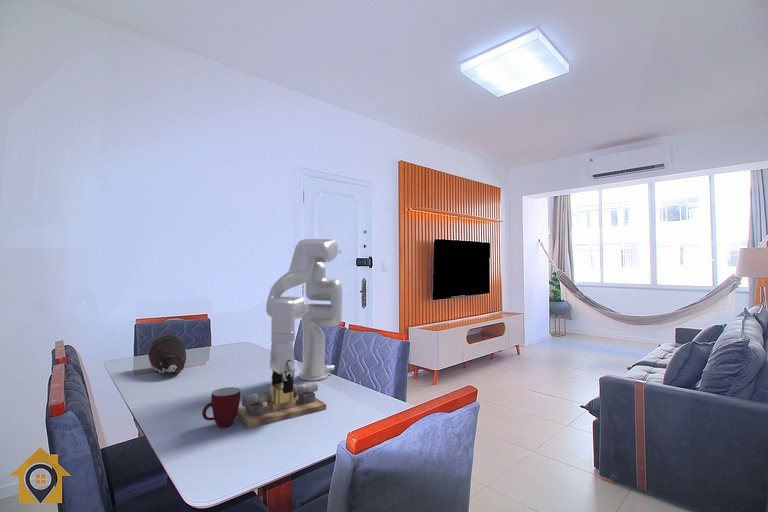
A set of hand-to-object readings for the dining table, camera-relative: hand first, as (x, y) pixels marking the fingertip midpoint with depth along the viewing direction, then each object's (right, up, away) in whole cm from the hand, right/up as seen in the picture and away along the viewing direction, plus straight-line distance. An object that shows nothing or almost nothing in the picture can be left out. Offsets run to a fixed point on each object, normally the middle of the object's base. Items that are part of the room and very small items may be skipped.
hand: (282, 388), depth 125 cm
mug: (-15, -7, -13) cm, 21 cm away
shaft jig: (0, -7, -1) cm, 7 cm away
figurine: (-5, -8, +13) cm, 16 cm away
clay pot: (-62, -8, +42) cm, 75 cm away
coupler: (0, -4, -1) cm, 4 cm away
